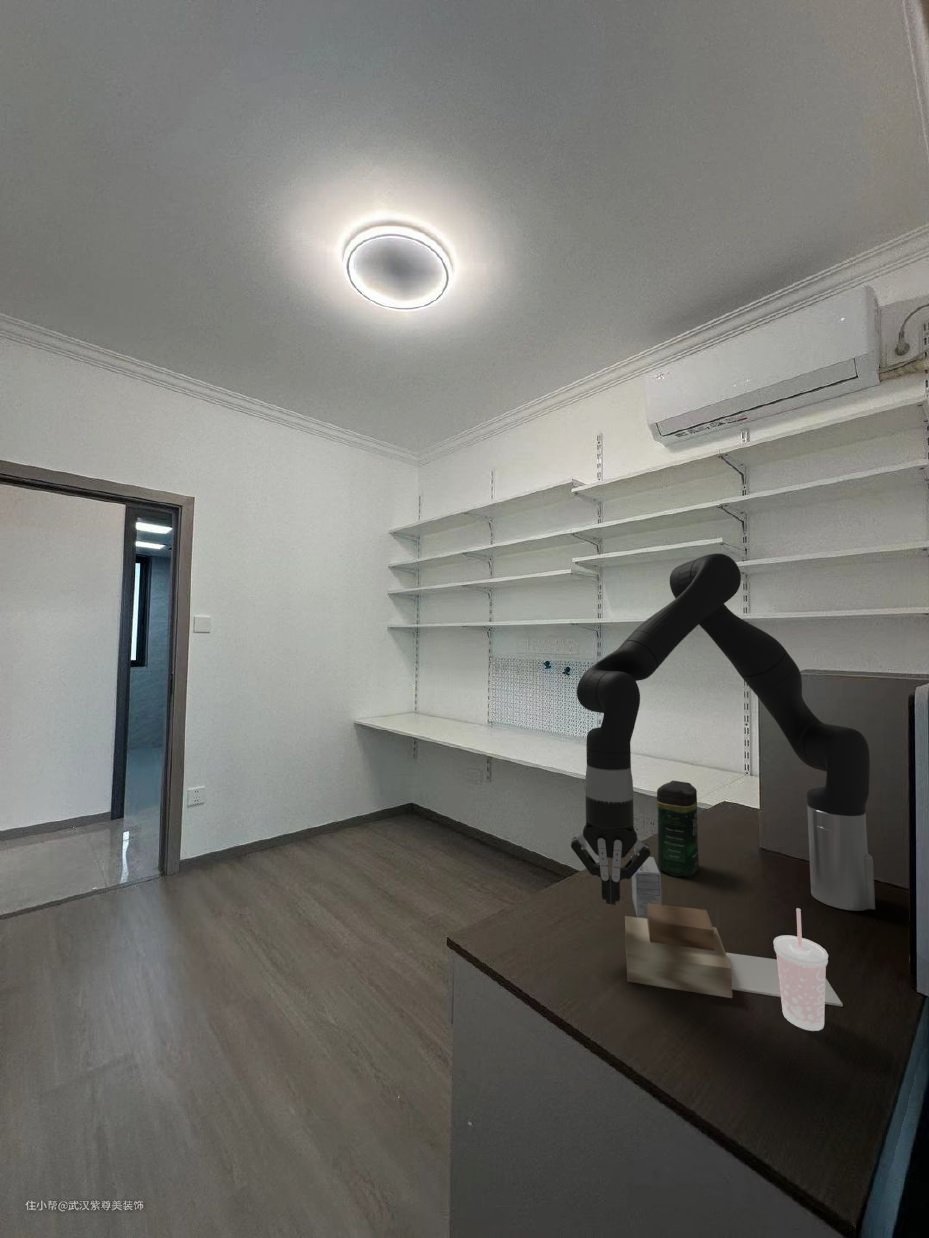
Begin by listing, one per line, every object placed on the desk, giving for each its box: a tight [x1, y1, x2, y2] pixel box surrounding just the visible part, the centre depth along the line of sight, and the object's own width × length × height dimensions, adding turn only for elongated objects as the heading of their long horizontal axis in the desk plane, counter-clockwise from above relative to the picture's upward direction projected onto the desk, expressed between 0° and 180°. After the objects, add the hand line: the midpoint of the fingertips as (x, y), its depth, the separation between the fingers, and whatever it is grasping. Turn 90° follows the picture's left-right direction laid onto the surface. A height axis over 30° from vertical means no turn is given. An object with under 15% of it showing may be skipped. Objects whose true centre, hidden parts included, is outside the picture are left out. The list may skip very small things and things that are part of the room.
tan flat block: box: [624, 915, 733, 999], centre depth 80 cm, size 14×11×4 cm
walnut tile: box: [647, 903, 714, 951], centre depth 81 cm, size 9×6×3 cm, turn 74°
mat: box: [725, 951, 844, 1007], centre depth 77 cm, size 14×9×1 cm, turn 74°
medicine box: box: [630, 855, 663, 919], centre depth 97 cm, size 8×4×9 cm, turn 168°
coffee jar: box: [656, 780, 700, 877], centre depth 115 cm, size 10×8×19 cm
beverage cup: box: [773, 907, 829, 1032], centre depth 69 cm, size 6×6×14 cm
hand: (610, 901), depth 84 cm, fingers closed
